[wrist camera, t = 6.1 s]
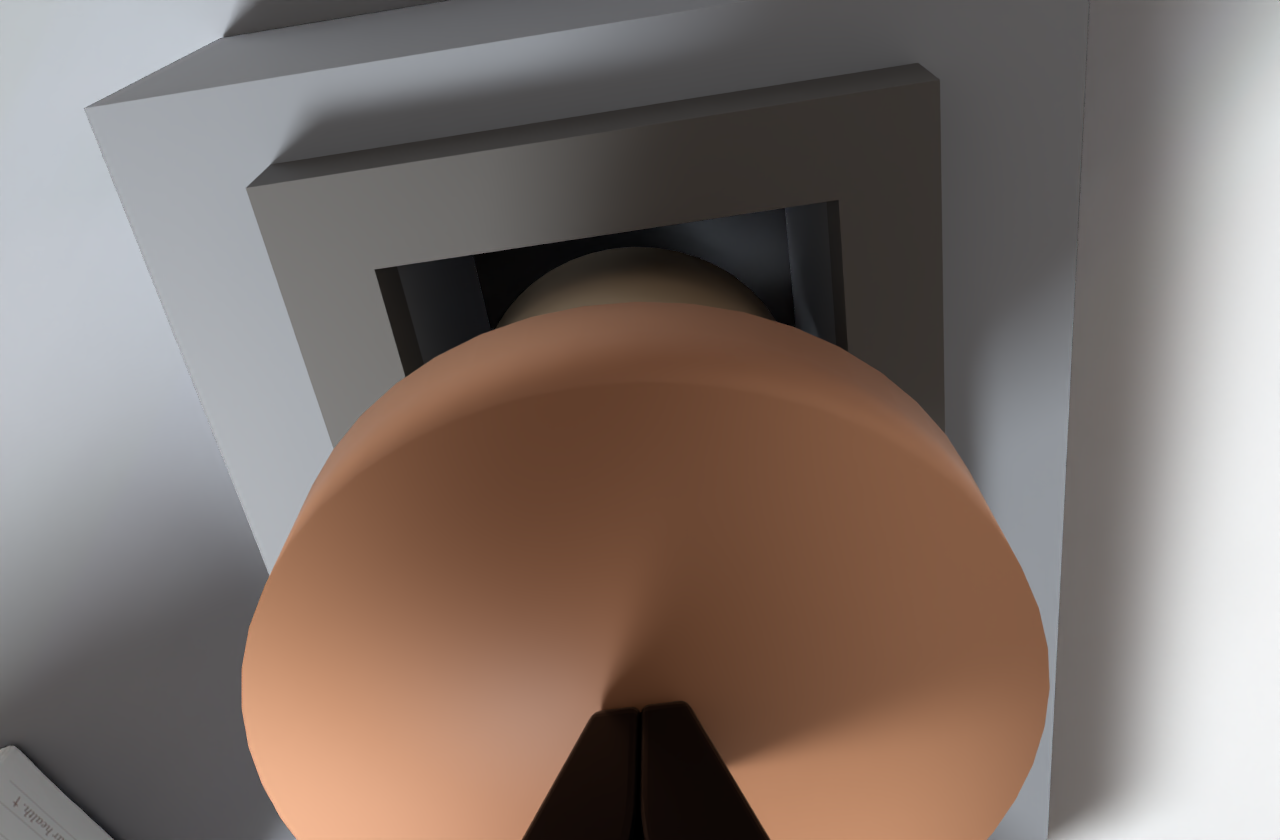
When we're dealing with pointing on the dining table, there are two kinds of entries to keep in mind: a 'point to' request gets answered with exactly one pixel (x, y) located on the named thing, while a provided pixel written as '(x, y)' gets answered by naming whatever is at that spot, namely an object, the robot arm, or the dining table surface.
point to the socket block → (623, 210)
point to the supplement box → (38, 805)
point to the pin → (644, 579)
